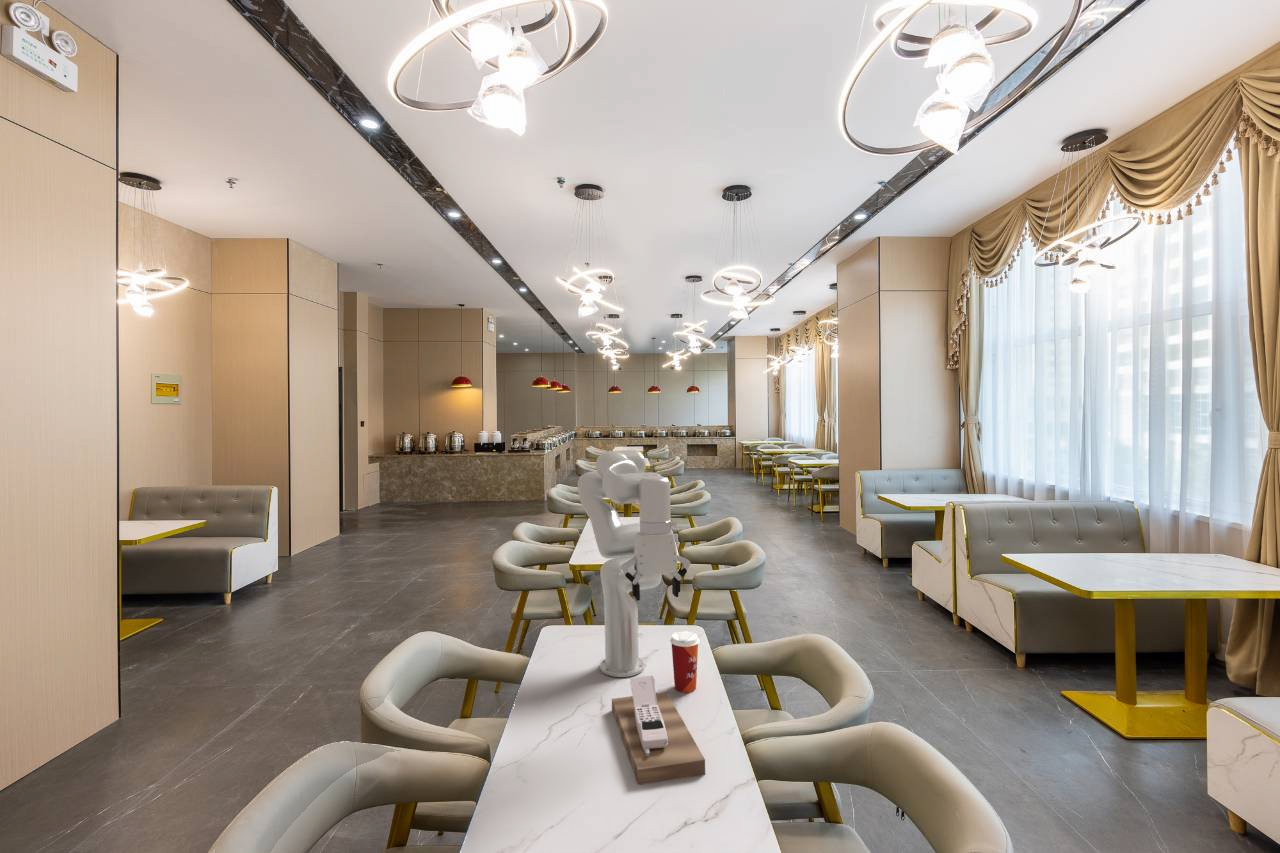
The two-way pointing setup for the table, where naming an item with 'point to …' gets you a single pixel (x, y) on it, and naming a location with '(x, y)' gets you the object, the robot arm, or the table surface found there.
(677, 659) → the paper cup
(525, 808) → the table surface
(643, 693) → the mobile phone
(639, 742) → the walnut stand
